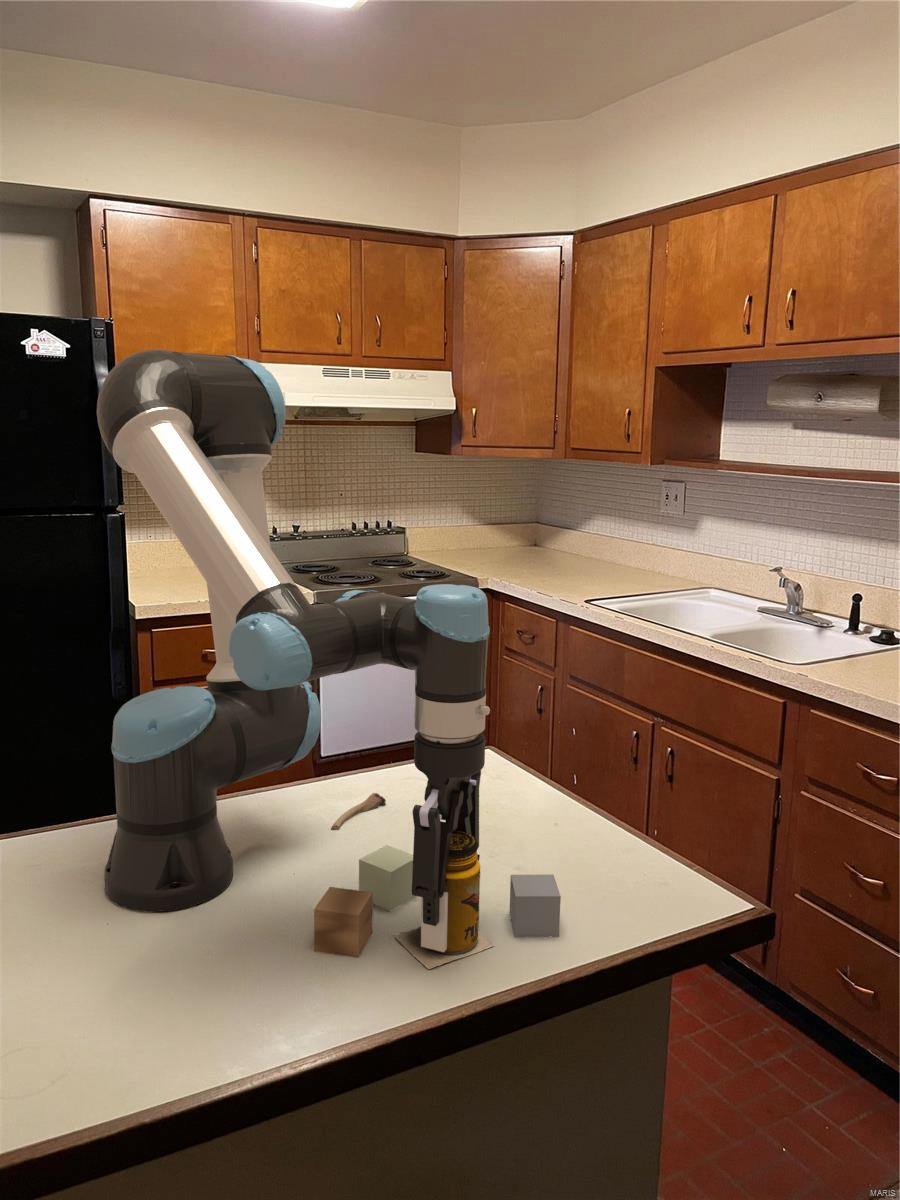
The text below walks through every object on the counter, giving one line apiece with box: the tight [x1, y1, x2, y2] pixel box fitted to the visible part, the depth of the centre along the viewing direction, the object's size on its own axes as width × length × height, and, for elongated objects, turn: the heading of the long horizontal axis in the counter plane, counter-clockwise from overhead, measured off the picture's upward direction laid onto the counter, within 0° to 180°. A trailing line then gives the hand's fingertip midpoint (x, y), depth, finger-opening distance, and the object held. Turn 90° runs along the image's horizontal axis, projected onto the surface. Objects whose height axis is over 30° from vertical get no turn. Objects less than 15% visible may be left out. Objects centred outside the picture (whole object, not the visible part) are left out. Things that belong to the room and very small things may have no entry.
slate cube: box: [508, 874, 562, 938], centre depth 103 cm, size 5×5×5 cm
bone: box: [330, 792, 387, 831], centre depth 131 cm, size 3×11×2 cm, turn 146°
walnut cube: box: [313, 886, 374, 959], centre depth 99 cm, size 5×5×5 cm
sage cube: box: [358, 844, 415, 912], centre depth 109 cm, size 5×5×5 cm
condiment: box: [393, 831, 494, 970], centre depth 98 cm, size 7×8×12 cm
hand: (446, 931), depth 100 cm, fingers closed on condiment, 6 cm apart
